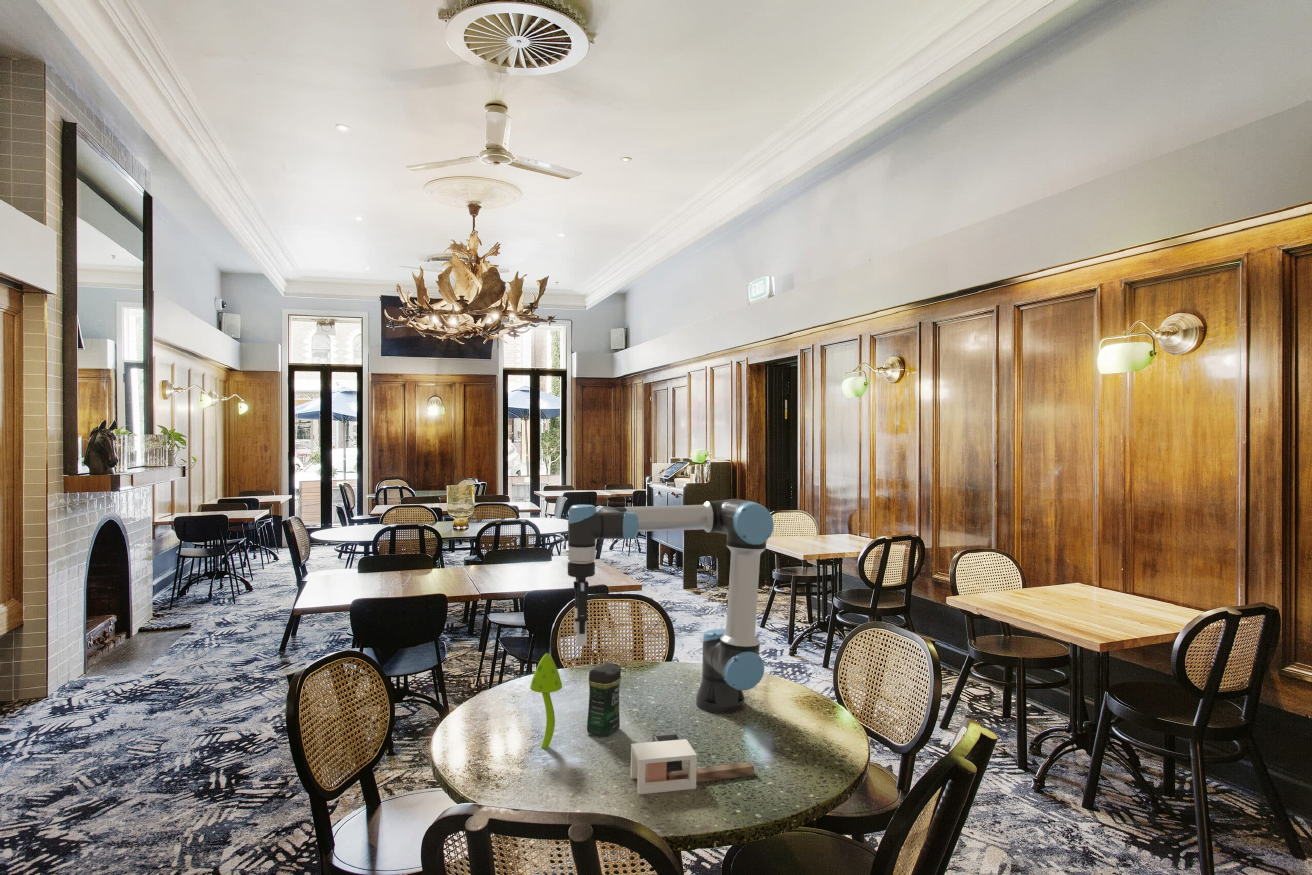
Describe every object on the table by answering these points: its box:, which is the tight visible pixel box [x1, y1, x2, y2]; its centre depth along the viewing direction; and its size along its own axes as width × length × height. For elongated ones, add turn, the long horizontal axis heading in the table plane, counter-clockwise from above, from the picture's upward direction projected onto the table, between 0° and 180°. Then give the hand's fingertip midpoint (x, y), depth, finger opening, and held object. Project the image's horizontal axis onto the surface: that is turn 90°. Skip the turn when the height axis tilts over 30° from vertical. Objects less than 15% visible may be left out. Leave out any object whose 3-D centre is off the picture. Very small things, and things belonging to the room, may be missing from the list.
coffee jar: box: [586, 661, 622, 738], centre depth 199 cm, size 10×8×19 cm
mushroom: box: [529, 652, 563, 750], centre depth 188 cm, size 8×8×25 cm
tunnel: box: [630, 732, 698, 795], centre depth 173 cm, size 14×15×8 cm
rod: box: [666, 761, 755, 783], centre depth 173 cm, size 22×2×2 cm, turn 107°
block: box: [645, 762, 667, 783], centre depth 170 cm, size 4×4×6 cm
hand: (580, 638), depth 195 cm, fingers open, 13 cm apart
